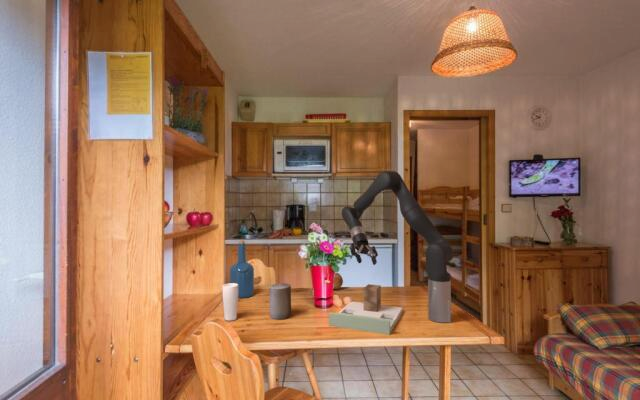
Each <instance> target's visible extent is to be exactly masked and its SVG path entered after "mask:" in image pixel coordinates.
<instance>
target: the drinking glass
mask: <svg viewBox="0 0 640 400" xmlns="http://www.w3.org/2000/svg"><path fill="white" fill-rule="evenodd" d="M238 302H239V298H238V284H236V283H229V282H228V283H225V284H222V305H223V320H225V322H232V321H235V320H237V318H238V315H237V314H238Z"/></svg>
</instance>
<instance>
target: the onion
mask: <svg viewBox="0 0 640 400" xmlns="http://www.w3.org/2000/svg"><path fill="white" fill-rule="evenodd" d="M343 284H344V279H343V276H342V275H341V274H340V273H339V272H337V273H335V277H334V289H333V290H336V291H337V290H339V289H340V288H341V287H343Z"/></svg>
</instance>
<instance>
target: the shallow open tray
mask: <svg viewBox="0 0 640 400" xmlns="http://www.w3.org/2000/svg"><path fill="white" fill-rule="evenodd" d="M403 311H404V310H403V306H402V307H401V306H395V305H394V306H393V305H384V304H381V307H380V309H379V310H378V311H377V312H372V311H364V302H359V301H350V302H348V304H346V306H344V307H343V308H342V309H341V310H340V311H338V312H329V313H328V326H329V327H330V326H331V327H336V328H342V329H350V330H354V331H355V330H356V331H361V330H362V331H363V332H368V333H369V332H370V333H375V334H383V335H389V336H390V335H391V333H392V331H393V329H394V327H395V326H396V324H397V322H398V320H399V319H400V317H401V315H402V313H403Z"/></svg>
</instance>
